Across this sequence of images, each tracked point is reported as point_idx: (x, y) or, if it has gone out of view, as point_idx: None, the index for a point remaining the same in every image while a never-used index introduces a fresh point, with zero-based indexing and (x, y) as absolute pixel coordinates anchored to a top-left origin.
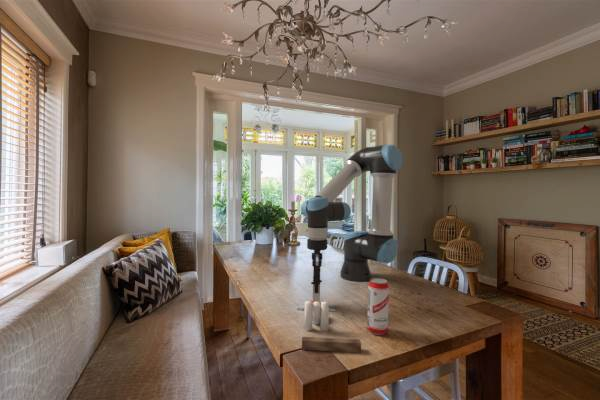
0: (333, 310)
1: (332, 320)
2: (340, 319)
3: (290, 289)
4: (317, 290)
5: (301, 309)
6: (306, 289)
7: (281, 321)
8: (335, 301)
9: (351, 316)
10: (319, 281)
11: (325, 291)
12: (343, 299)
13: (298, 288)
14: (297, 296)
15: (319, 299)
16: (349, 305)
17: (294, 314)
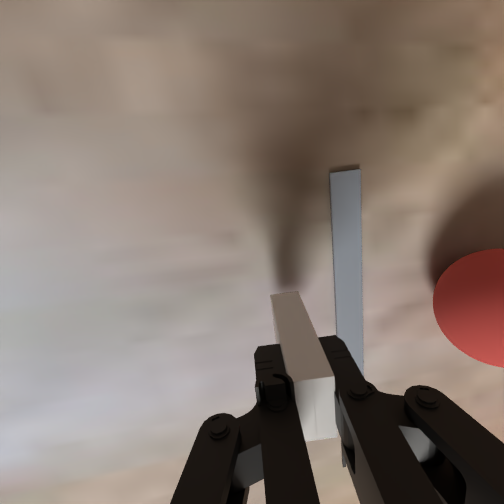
0: (355, 184)
1: (487, 180)
2: (474, 129)
3: (75, 468)
4: (348, 356)
5: (362, 364)
6: (31, 391)
7: (490, 415)
8: (184, 180)
9: (429, 47)
10: (470, 421)
11: (8, 269)
12: (123, 117)
13: (36, 435)
14: (173, 415)
15: (301, 299)
16: (234, 62)
17: (416, 381)
